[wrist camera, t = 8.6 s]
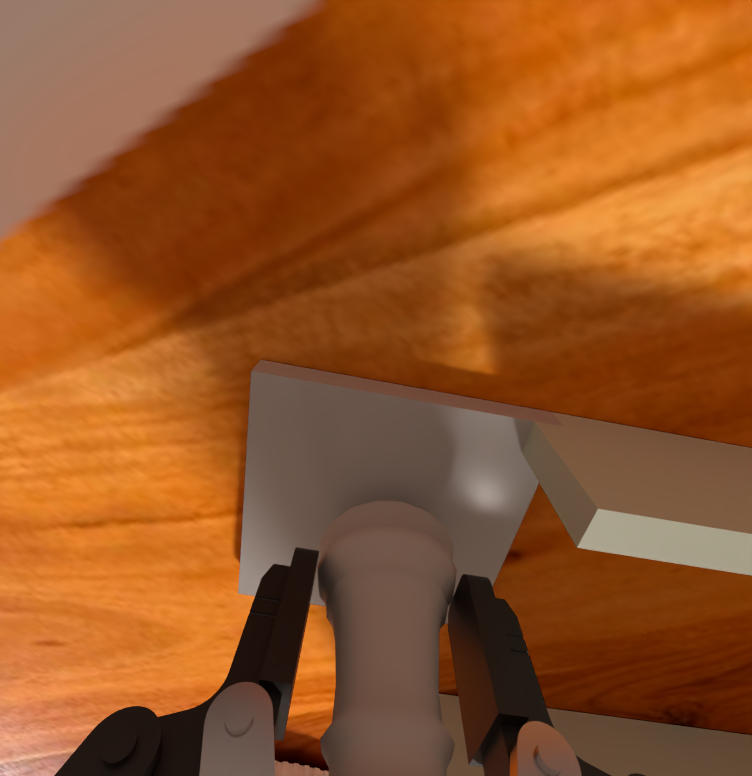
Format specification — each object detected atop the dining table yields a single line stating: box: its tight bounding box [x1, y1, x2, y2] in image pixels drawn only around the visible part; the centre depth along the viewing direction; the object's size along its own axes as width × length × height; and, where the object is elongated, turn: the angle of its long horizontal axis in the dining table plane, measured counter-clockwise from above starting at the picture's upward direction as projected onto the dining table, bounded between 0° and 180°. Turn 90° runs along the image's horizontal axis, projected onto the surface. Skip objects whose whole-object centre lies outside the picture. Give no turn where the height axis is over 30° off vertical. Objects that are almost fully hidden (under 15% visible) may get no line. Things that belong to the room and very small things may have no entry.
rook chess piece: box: [317, 500, 457, 776], centre depth 9 cm, size 4×4×8 cm
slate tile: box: [238, 360, 563, 624], centre depth 14 cm, size 10×10×1 cm
